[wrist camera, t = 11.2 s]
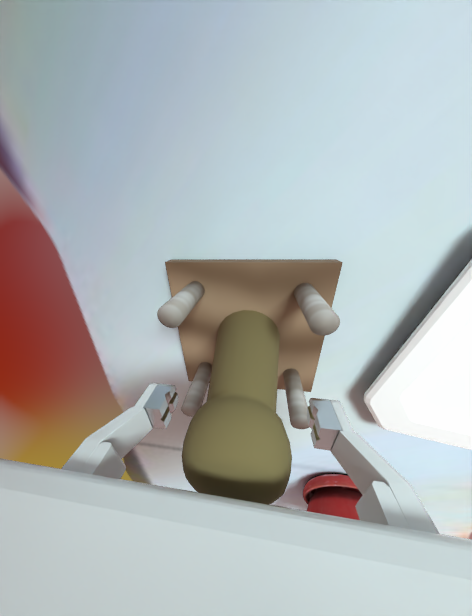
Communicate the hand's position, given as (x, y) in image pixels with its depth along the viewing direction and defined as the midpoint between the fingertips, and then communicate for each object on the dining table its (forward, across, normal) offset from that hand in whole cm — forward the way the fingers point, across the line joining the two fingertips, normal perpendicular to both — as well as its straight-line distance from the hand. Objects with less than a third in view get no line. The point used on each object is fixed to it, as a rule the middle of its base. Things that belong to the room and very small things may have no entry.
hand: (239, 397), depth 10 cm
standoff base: (+8, 0, 0) cm, 8 cm away
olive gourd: (+7, 0, +1) cm, 7 cm away
